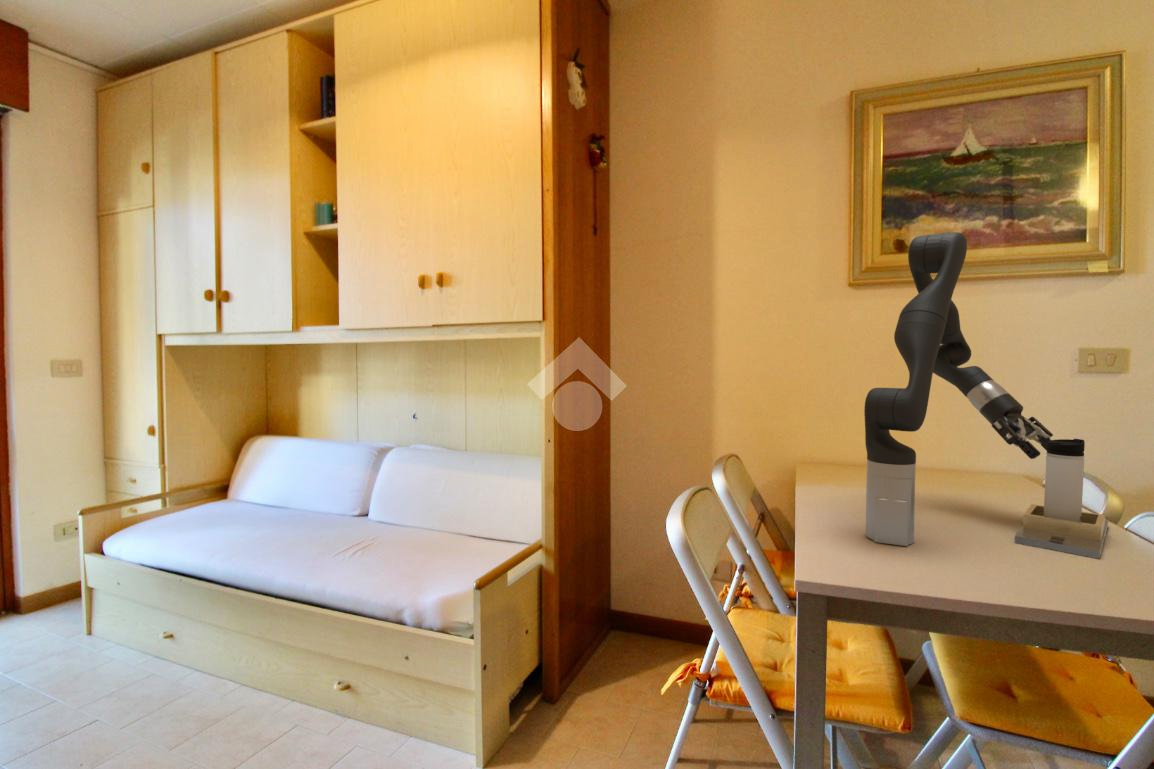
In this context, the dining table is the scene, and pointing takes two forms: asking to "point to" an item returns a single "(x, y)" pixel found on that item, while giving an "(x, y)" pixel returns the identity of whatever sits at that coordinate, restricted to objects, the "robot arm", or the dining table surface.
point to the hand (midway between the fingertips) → (1047, 455)
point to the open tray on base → (1063, 532)
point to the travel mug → (1064, 479)
